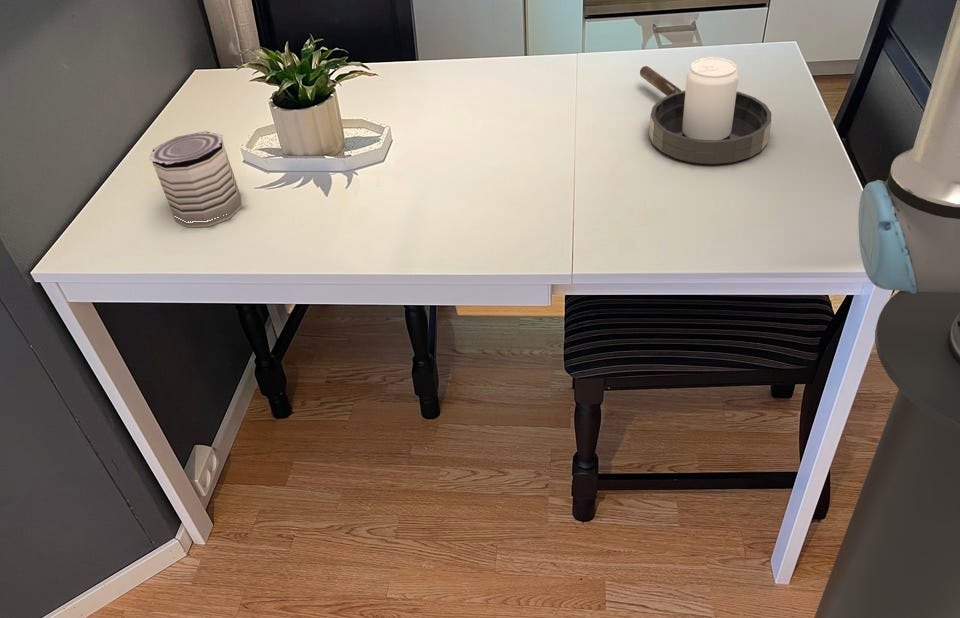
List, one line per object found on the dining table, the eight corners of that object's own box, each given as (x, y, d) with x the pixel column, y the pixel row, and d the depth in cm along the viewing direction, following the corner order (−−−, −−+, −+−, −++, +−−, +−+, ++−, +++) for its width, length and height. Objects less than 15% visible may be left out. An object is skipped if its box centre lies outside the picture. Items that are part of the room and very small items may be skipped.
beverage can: (735, 143, 131) (745, 74, 124) (686, 146, 132) (692, 78, 124) (725, 121, 137) (733, 54, 130) (678, 124, 138) (683, 57, 130)
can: (172, 234, 125) (145, 168, 118) (175, 199, 134) (150, 135, 126) (244, 219, 127) (222, 153, 119) (242, 185, 136) (222, 121, 128)
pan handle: (684, 101, 141) (685, 89, 139) (673, 104, 140) (674, 92, 139) (647, 74, 150) (648, 63, 149) (637, 76, 150) (637, 65, 148)
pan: (791, 149, 130) (796, 124, 127) (687, 178, 126) (690, 152, 123) (724, 102, 144) (727, 79, 141) (629, 127, 140) (630, 104, 137)
